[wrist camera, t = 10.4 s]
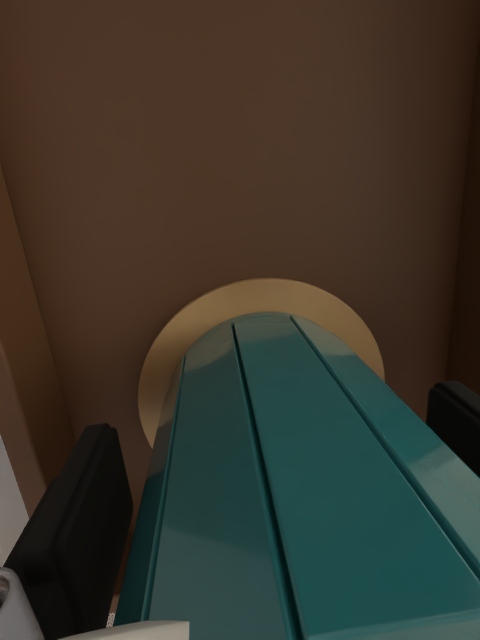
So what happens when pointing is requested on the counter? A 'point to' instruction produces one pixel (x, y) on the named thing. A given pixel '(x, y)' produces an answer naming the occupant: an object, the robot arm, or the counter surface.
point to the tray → (226, 193)
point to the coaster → (236, 303)
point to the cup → (300, 499)
